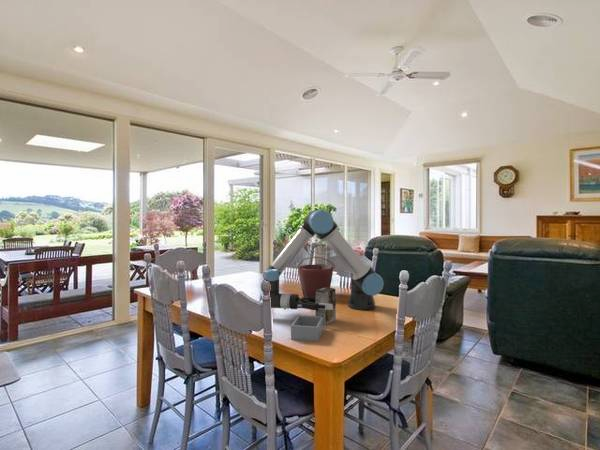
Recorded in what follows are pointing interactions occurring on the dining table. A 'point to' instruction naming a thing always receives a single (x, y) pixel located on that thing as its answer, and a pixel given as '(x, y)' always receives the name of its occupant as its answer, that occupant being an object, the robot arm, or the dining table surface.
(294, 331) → the grey well
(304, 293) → the bucket
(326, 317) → the coffee box
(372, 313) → the dining table surface
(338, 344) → the dining table surface
